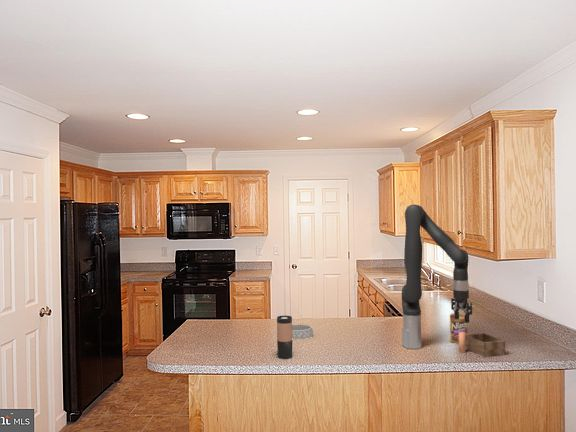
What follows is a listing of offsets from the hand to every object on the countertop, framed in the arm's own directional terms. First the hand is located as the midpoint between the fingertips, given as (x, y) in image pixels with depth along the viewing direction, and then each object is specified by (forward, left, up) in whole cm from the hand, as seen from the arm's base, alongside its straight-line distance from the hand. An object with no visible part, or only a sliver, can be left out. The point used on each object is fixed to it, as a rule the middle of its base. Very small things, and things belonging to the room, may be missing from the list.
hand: (461, 320), depth 237 cm
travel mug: (-88, +18, -16) cm, 91 cm away
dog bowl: (-71, +56, -16) cm, 92 cm away
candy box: (+9, +16, -16) cm, 24 cm away
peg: (0, 0, -16) cm, 16 cm away
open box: (+11, -3, -16) cm, 19 cm away
